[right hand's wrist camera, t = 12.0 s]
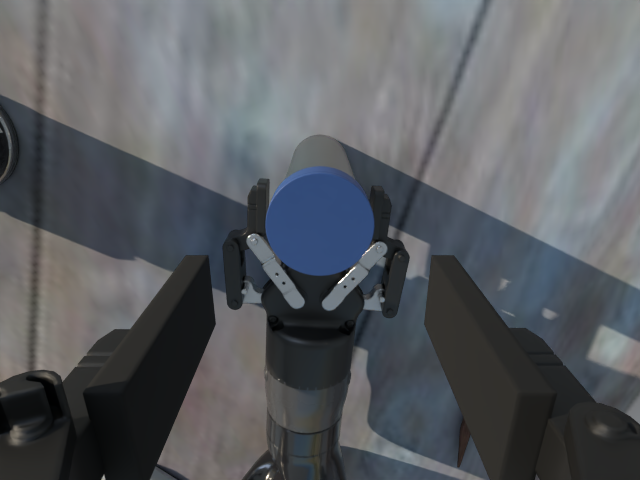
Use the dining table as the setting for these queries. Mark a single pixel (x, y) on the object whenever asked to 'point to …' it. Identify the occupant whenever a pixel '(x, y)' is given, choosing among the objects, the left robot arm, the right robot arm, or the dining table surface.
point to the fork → (463, 441)
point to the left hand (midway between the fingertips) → (321, 184)
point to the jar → (319, 155)
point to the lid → (320, 221)
